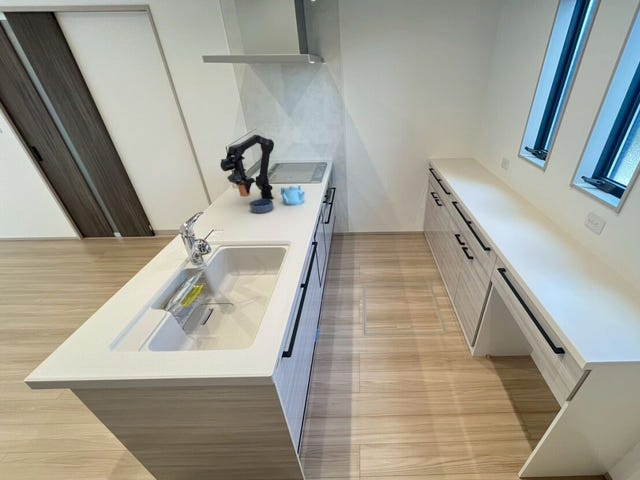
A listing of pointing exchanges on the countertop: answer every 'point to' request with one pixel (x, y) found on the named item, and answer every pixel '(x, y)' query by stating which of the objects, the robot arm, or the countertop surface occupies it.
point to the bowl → (261, 205)
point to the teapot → (292, 195)
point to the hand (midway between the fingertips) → (244, 192)
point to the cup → (242, 190)
